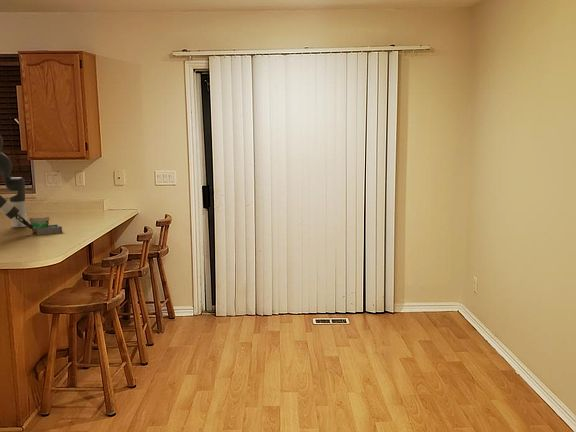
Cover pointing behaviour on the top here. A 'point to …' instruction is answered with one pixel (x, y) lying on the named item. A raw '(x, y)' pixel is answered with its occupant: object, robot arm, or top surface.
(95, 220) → the top surface
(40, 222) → the food container
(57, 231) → the dock
